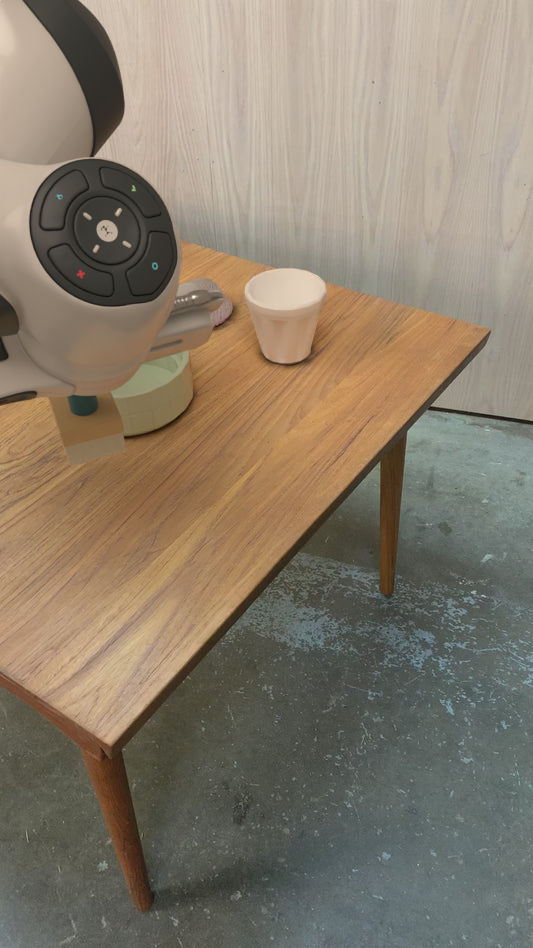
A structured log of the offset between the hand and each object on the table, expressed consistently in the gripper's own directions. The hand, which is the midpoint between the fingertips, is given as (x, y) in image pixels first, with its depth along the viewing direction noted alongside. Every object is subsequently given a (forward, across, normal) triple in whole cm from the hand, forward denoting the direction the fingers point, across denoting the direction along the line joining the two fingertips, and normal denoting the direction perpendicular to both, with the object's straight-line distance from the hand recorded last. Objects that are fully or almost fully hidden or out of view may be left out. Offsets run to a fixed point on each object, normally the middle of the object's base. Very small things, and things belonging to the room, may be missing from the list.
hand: (75, 372), depth 65 cm
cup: (+28, -30, -1) cm, 41 cm away
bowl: (+28, -8, -1) cm, 29 cm away
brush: (+5, 0, +5) cm, 7 cm away
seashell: (+38, -23, -11) cm, 46 cm away
